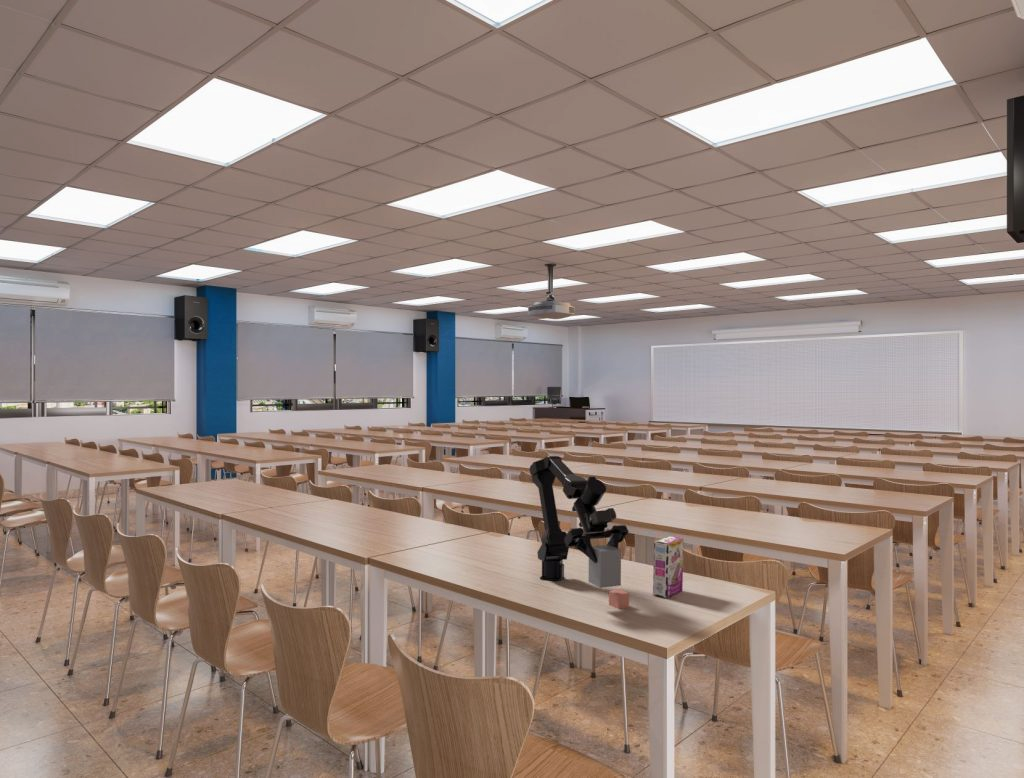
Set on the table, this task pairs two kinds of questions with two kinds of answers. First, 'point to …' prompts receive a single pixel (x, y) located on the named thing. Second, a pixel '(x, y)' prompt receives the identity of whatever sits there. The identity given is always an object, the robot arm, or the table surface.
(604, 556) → the grey upright block
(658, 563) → the candy bar box
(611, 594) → the red block
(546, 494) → the robot arm
